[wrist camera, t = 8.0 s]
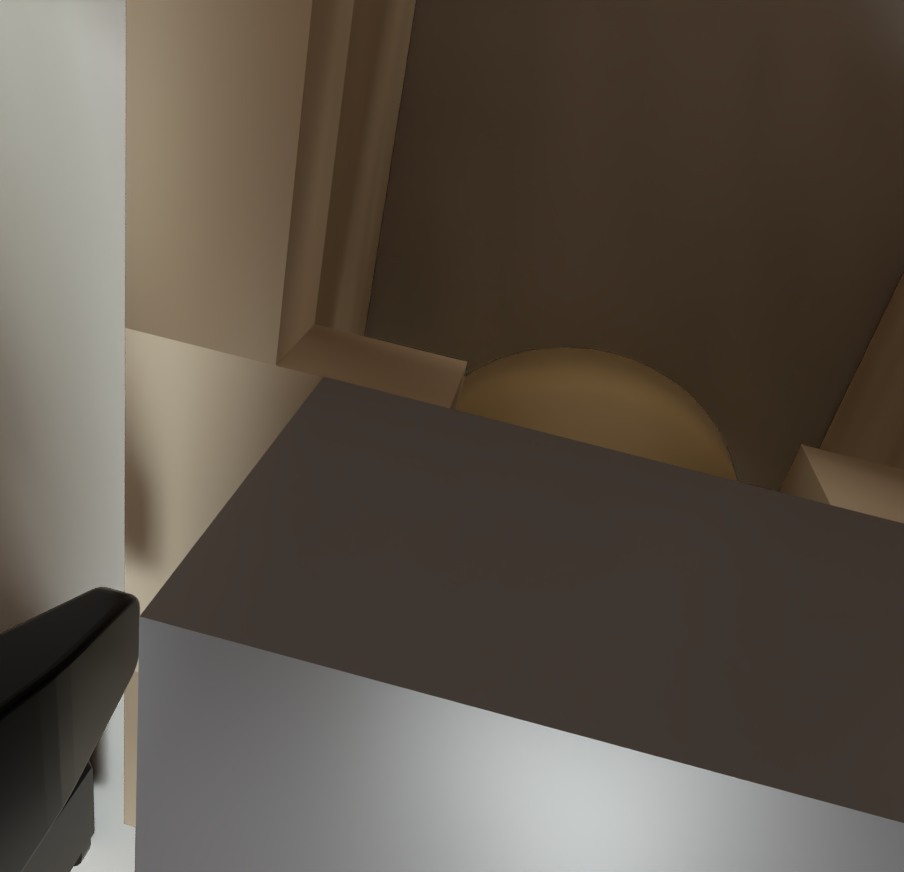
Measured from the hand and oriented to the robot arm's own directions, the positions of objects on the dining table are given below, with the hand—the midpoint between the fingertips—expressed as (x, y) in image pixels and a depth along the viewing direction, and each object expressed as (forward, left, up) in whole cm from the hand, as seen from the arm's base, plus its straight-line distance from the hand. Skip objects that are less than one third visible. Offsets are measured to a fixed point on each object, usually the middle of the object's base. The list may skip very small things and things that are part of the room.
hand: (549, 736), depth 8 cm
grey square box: (0, 0, -5) cm, 5 cm away
